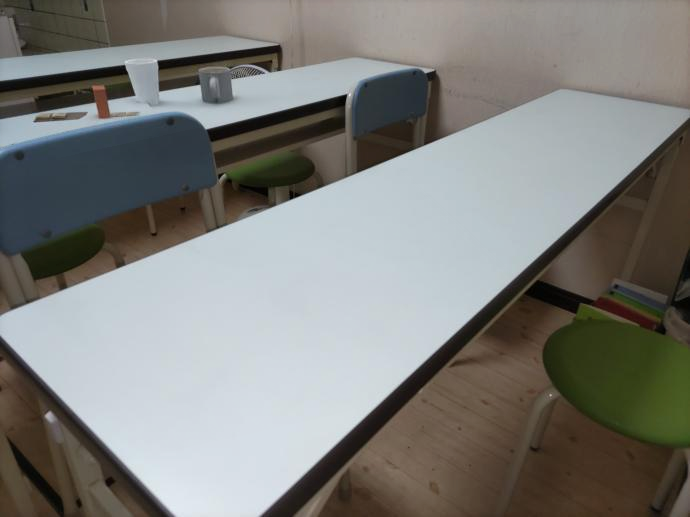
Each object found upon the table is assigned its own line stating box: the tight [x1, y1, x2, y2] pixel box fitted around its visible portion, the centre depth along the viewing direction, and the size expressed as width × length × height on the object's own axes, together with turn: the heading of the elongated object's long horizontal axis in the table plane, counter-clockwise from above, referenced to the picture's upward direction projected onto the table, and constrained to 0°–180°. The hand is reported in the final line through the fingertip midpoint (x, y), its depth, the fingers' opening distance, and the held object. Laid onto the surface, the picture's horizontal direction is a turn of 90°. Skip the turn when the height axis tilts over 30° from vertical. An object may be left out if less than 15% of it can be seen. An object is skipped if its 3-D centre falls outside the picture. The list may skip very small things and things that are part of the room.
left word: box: [33, 111, 89, 123], centre depth 145 cm, size 13×8×2 cm, turn 106°
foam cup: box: [124, 58, 160, 107], centre depth 159 cm, size 10×9×13 cm
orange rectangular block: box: [91, 84, 112, 120], centre depth 144 cm, size 3×5×8 cm, turn 26°
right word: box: [96, 111, 140, 118], centre depth 147 cm, size 12×8×2 cm, turn 106°
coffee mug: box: [198, 66, 234, 104], centre depth 165 cm, size 13×10×10 cm
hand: (59, 7), depth 143 cm, fingers open, 13 cm apart
